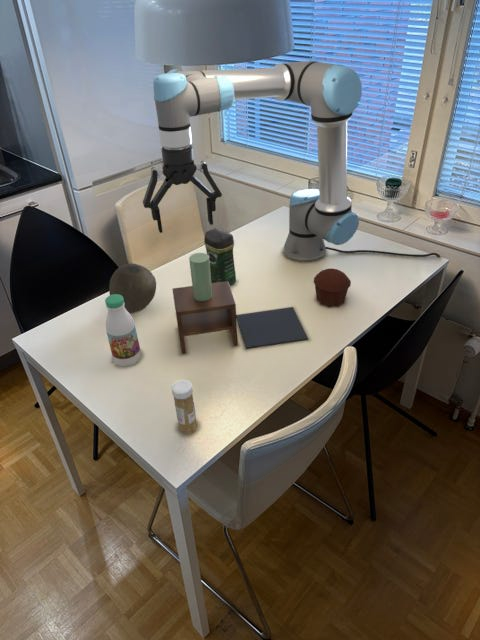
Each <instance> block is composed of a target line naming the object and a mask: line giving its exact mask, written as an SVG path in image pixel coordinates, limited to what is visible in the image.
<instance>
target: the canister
mask: <svg viewBox="0 0 480 640" xmlns="http://www.w3.org/2000/svg"><path fill="white" fill-rule="evenodd" d="M188 259H189V268H190V277H191V286H192V287H193V296H194V299H195V300H197V301H207V300H209V299H211V298H212V296H213V295H212V283H211V272H210V260H209V255H207V253H205V252H196V253H192V254H191V255H190V256H189V257H188Z"/></svg>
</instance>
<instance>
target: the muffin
mask: <svg viewBox="0 0 480 640" xmlns="http://www.w3.org/2000/svg"><path fill="white" fill-rule="evenodd" d="M312 283H313V284H314V288H315V297H316V301H317V302H318V303H319V305H321V306H324V307H328V308H336V307H337V308H338V307H340V306H341V305H344V304H345V301H346V297H347V294H348V290H349V289H350V287H351V285H352V280H350V278H349V277H348V275H346V273H345V272H344V271H342V270H340V269H339V268H333V267H332V268H331V267H330V268H325V269H322V270H320V271H319V272H317V274H316V275H315V276H314V277H313V282H312Z"/></svg>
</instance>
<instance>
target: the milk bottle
mask: <svg viewBox="0 0 480 640" xmlns="http://www.w3.org/2000/svg"><path fill="white" fill-rule="evenodd" d="M104 302H105V306H106V309H107V315H106V319H105V331H106V337H107V340H108V344H109V349H110V352H111V356H112V360H113V363H115V364H116V365H118V366H121V367H129V366H132V365H135V364H137V363H138V362H139V361H140V359H141V356H142V352H141V351H142V350H141V347H140V346H141V345H140V342H139V337H138V331H137V327H136V324H135V320H134V318H133V316H132V315H131V313H128V311H127V310H126V309H125V307H124V299H123V297H122V296H121V295H119V294H113V295H110V294H109V295H108V296H107V297H106V298H105V299H104Z"/></svg>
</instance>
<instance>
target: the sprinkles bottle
mask: <svg viewBox="0 0 480 640" xmlns="http://www.w3.org/2000/svg"><path fill="white" fill-rule="evenodd" d="M193 392H194V387H193V384H192V382H191V381H190V380H187V379H178V380H176V381H175V382H174V383H173V384H172V385H171V393H172V396H173V400H174V407H175V414H176V419H177V420H176V421H177V424H178V431H179V432H180V433H182V434H185V435H190V434H193V433H194V432H195V431H197V430H198V425H199V424H198V421H197V414H196V405H195V402H194V396H193V394H194V393H193Z"/></svg>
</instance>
